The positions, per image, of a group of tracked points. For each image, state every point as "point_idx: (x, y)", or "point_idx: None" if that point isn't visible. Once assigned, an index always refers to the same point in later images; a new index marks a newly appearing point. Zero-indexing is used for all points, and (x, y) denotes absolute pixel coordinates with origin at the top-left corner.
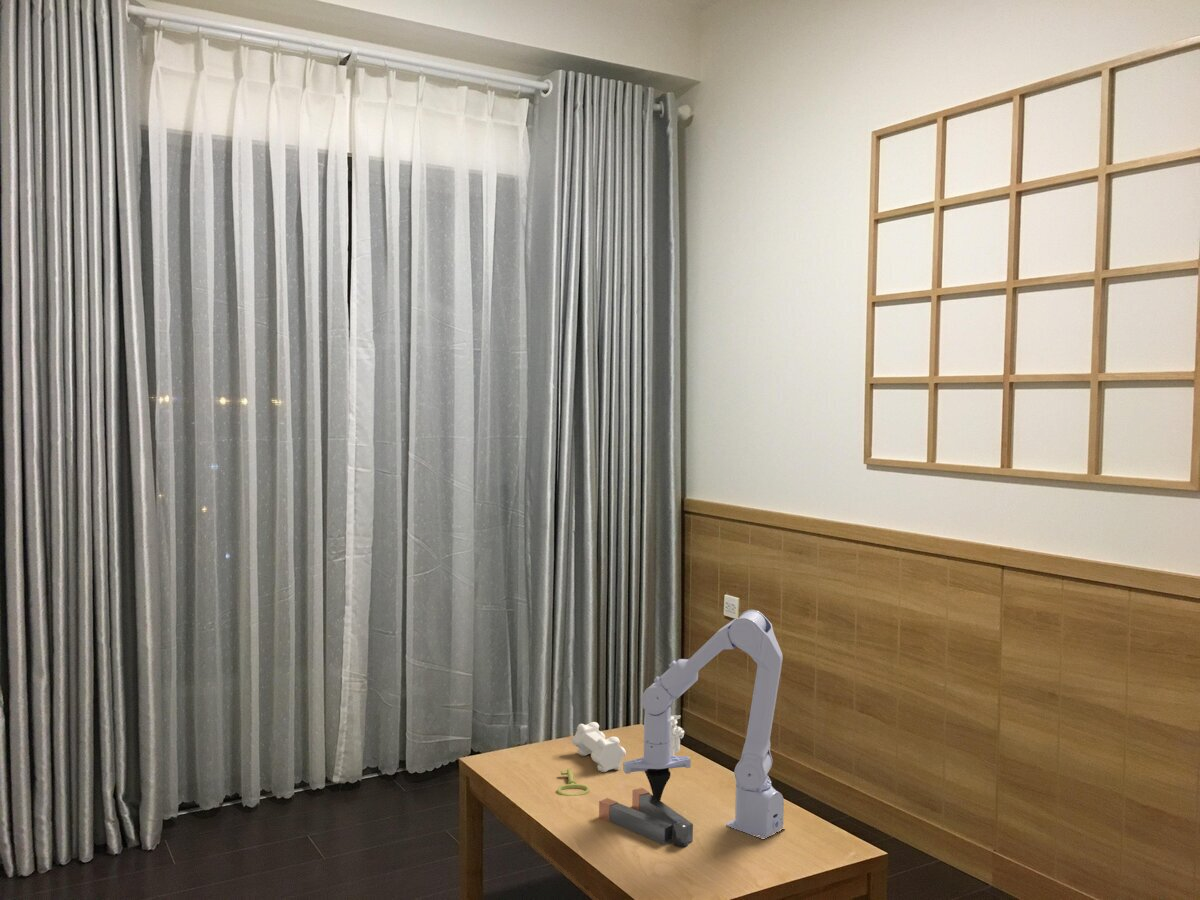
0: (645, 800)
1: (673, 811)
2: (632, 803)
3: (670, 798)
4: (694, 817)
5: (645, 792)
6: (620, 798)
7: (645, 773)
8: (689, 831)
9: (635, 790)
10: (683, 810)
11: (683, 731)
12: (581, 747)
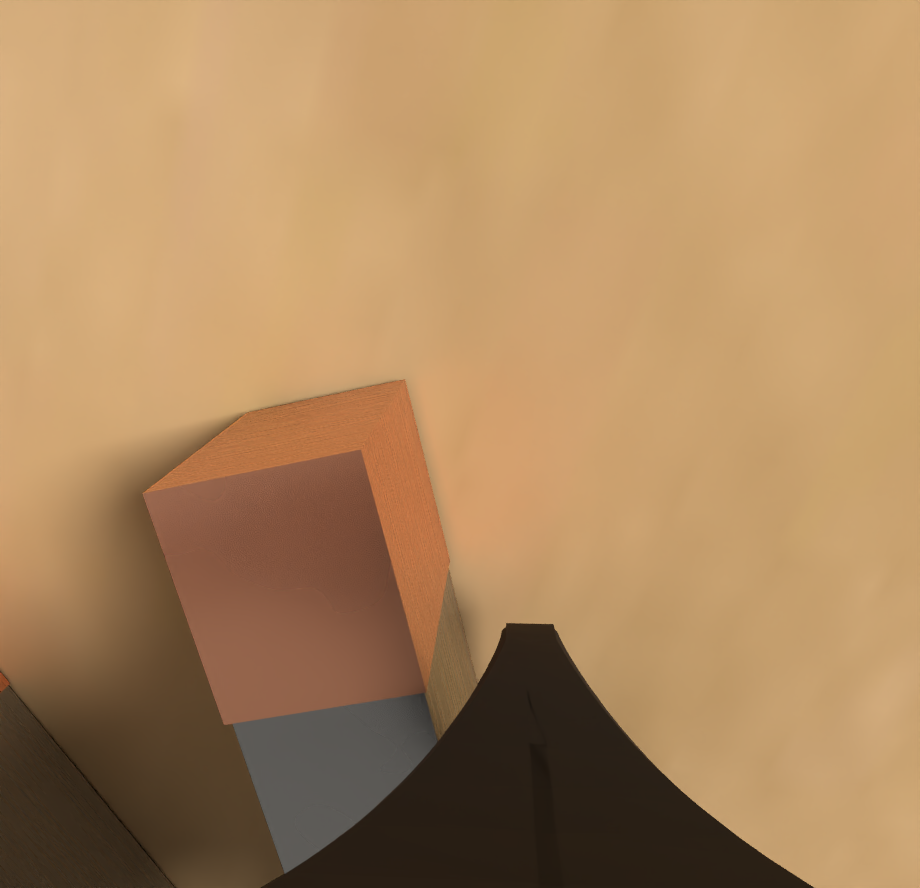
0: (292, 866)
1: None
2: (235, 424)
3: (913, 238)
4: (914, 859)
5: (355, 665)
6: (141, 46)
7: (268, 886)
8: None
9: (191, 540)
10: (886, 663)
11: None
12: None
